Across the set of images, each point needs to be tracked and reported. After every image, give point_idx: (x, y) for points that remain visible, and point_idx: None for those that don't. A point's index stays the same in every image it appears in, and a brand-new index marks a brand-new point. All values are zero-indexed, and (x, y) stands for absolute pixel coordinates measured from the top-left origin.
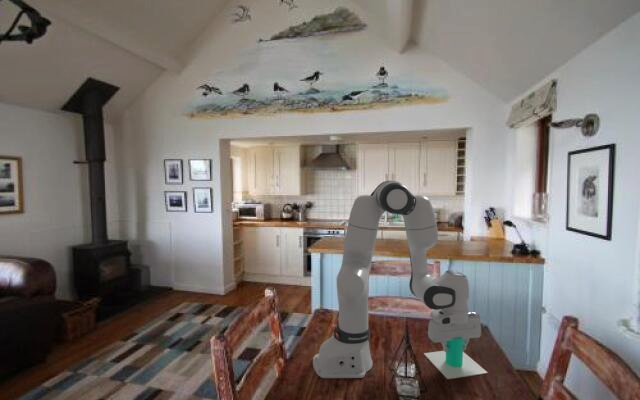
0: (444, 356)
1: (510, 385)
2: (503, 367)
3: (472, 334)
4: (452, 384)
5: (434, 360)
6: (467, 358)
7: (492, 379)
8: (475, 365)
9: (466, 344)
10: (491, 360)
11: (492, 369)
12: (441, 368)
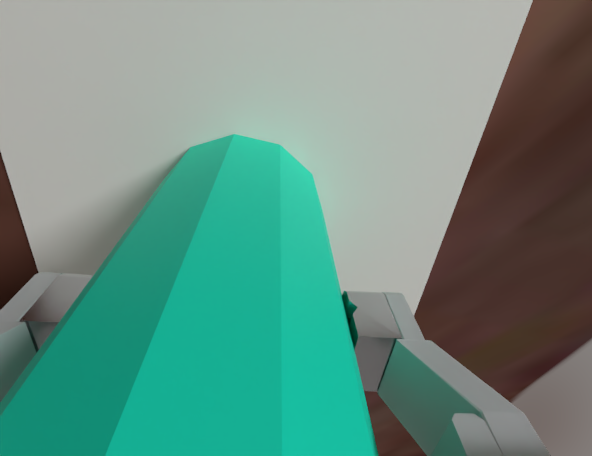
0: (209, 87)
1: (408, 438)
2: (557, 338)
3: None
4: None
5: (40, 126)
6: (421, 197)
7: (365, 397)
8: (391, 291)
9: (408, 410)
10: (586, 261)
11: (466, 337)
12: (66, 255)
